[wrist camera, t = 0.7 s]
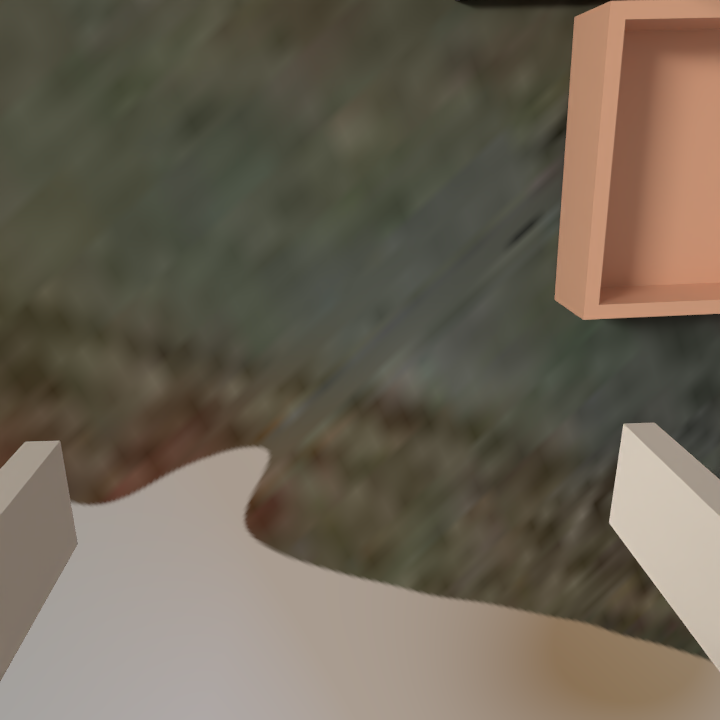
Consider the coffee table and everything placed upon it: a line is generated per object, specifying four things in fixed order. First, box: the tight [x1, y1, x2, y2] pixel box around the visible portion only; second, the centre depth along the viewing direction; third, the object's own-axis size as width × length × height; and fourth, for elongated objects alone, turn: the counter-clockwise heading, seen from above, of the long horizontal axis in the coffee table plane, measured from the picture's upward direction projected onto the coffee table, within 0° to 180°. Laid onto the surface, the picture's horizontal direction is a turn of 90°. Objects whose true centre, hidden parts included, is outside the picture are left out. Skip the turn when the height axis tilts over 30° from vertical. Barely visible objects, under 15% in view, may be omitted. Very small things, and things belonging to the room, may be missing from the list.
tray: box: [555, 0, 720, 320], centre depth 36 cm, size 16×16×5 cm
